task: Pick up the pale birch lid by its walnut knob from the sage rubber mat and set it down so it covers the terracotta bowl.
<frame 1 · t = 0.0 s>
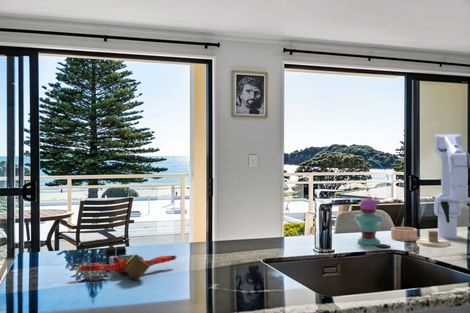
hand: (459, 222, 166), 10 cm above the worktop, tool pointing down, fingers open, 7 cm apart
mat: (433, 245, 176), on the worktop
lid: (433, 244, 176), resting on mat
bowl: (404, 239, 188), on the worktop
toy 2: (368, 244, 180), on the worktop
toy: (126, 272, 139), on the worktop
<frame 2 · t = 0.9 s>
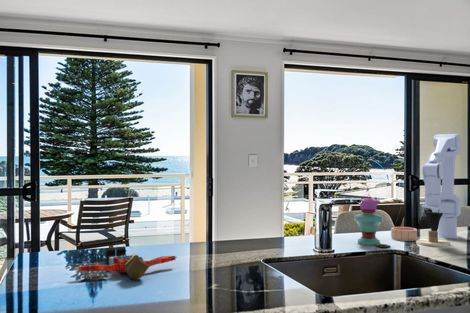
hand: (433, 229, 176), 6 cm above the worktop, tool pointing down, fingers open, 7 cm apart
nothing on the worktop moved.
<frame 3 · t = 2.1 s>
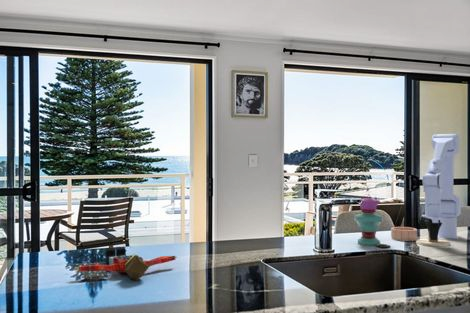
hand: (433, 239, 176), 2 cm above the worktop, tool pointing down, fingers closed on lid, 3 cm apart
lid: (433, 244, 176), resting on mat, touching gripper
everything else where it was.
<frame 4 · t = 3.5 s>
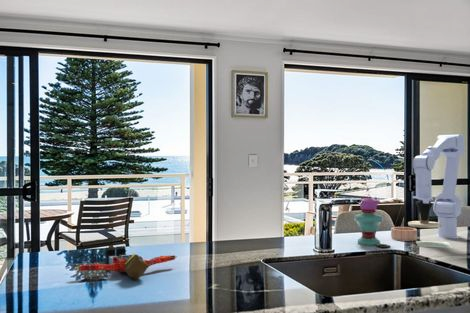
hand: (423, 219, 180), 9 cm above the worktop, tool pointing down, fingers closed on lid, 3 cm apart
lid: (424, 225, 180), point 7 cm above the worktop, touching gripper
everything else where it was.
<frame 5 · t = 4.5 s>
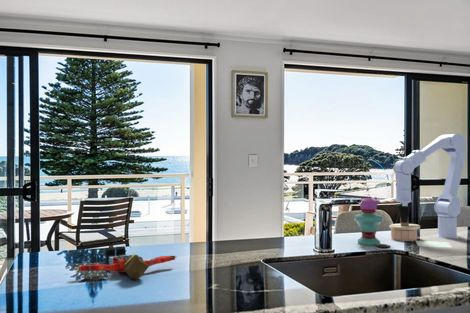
hand: (403, 221, 188), 7 cm above the worktop, tool pointing down, fingers closed on lid, 3 cm apart
lid: (404, 227, 188), point 5 cm above the worktop, touching gripper
everything else where it was.
when the fingers open (7 cm above the worktop, at t = 4.7 s): lid stays where it is, resting on bowl.
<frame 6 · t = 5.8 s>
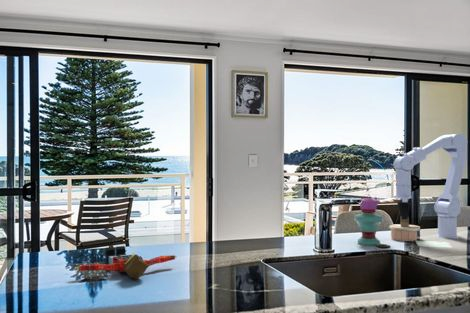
hand: (403, 218, 188), 9 cm above the worktop, tool pointing down, fingers open, 7 cm apart
lid: (404, 228, 188), point 4 cm above the worktop, touching bowl
everything else where it was.
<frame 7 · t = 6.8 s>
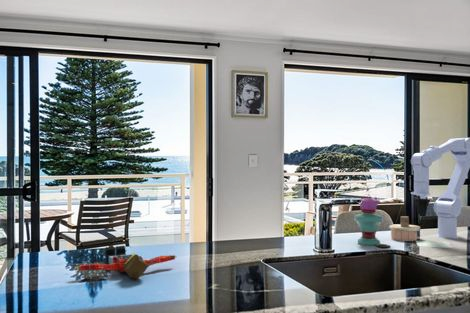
hand: (421, 215, 186), 10 cm above the worktop, tool pointing down, fingers open, 7 cm apart
nothing on the worktop moved.
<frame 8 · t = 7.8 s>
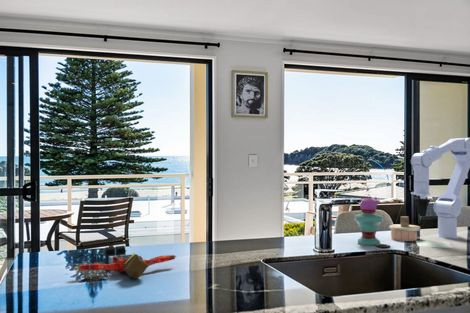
hand: (421, 215, 186), 10 cm above the worktop, tool pointing down, fingers open, 7 cm apart
nothing on the worktop moved.
at the end: lid 0.3 cm off-centre on the bowl, point 4.5 cm above the bowl's base; lid tilted 0°; the gripper is holding nothing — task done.
